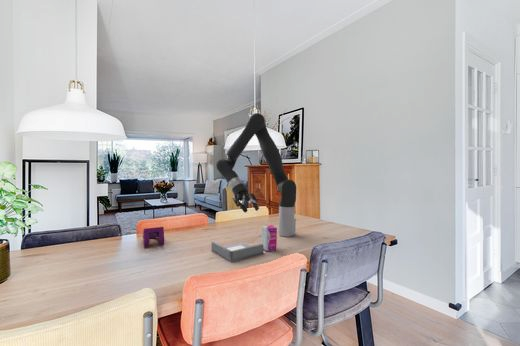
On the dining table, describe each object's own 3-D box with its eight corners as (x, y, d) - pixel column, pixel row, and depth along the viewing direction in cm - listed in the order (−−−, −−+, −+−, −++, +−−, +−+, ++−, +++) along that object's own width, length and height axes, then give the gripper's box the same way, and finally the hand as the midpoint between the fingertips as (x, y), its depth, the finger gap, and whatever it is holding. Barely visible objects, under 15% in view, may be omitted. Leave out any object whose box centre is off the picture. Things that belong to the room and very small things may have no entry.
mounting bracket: (142, 251, 144) (144, 245, 129) (142, 235, 147) (143, 228, 132) (161, 248, 149) (164, 243, 134) (160, 233, 151) (163, 226, 137)
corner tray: (242, 244, 139) (242, 235, 139) (263, 253, 125) (263, 244, 124) (211, 250, 128) (211, 241, 128) (230, 262, 114) (230, 252, 114)
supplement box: (266, 252, 127) (266, 228, 126) (261, 248, 132) (261, 225, 132) (276, 250, 129) (277, 227, 129) (271, 246, 135) (271, 224, 134)
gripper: (231, 183, 138) (246, 207, 130) (250, 182, 148) (265, 204, 141) (224, 192, 142) (238, 216, 134) (243, 190, 152) (257, 213, 145)
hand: (252, 210), depth 138 cm, fingers open, 8 cm apart
